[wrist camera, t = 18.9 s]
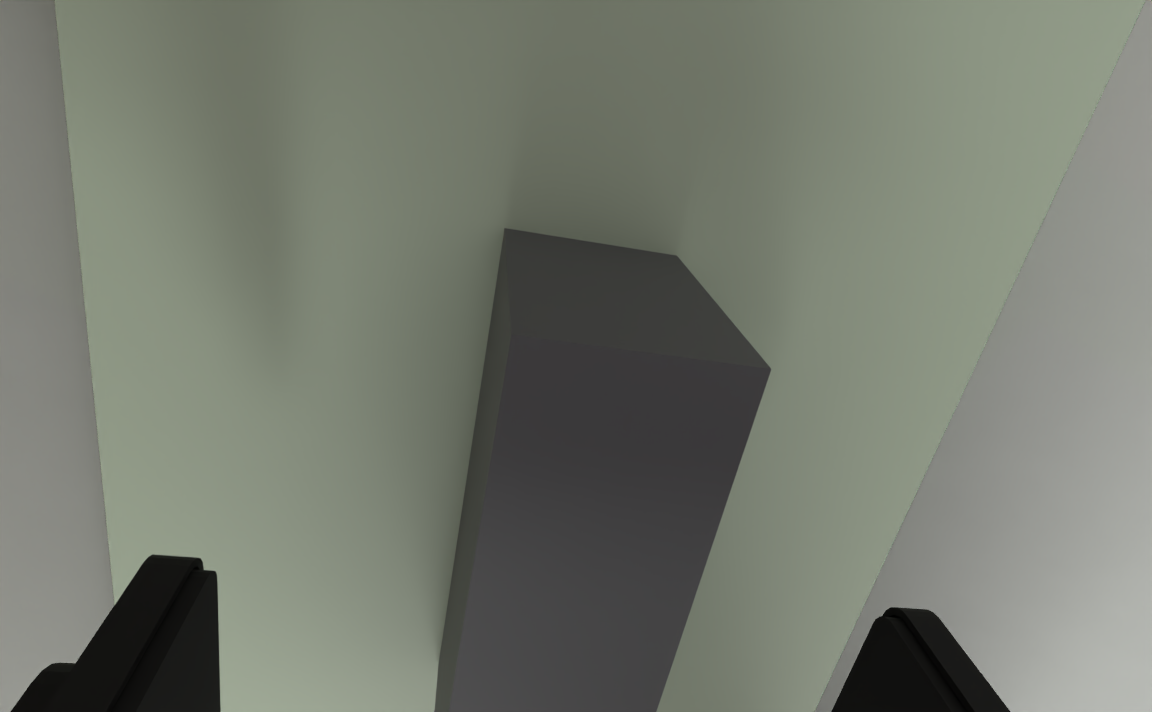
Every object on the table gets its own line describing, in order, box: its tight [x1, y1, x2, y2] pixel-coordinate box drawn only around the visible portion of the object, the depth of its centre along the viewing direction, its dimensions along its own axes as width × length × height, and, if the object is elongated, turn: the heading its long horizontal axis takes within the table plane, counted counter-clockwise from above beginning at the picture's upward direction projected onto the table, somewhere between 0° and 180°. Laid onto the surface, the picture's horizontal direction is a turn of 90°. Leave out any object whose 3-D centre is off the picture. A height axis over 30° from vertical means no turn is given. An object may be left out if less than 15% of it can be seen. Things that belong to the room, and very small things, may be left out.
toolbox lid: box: [54, 0, 1146, 712], centre depth 12 cm, size 24×16×6 cm
